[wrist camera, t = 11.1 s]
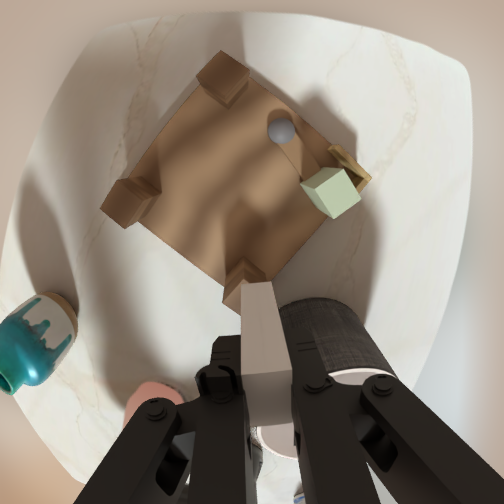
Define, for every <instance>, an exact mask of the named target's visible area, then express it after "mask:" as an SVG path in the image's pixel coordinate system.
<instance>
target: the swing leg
mask: <svg viewBox="0 0 504 504" xmlns="http://www.w3.org/2000/svg"><path fill="white" fill-rule="evenodd" d="M267 132H268V136H269V138H270V139H271V140H272V141H273V142H274V143H277V145H278V146H279V147H280V149H281V150H282V151H283V153H284V154H285V155H286V157H287V158H288V160H289V161H290V162H291V164H292V165H293V167H294V168H295V169H296V171H297V172H298V174H299V175H300V177H301V178H302V180H303V182H301V183H300V185H301V186H302V188H303V189H304V191H305V192H306V193H307V195H308V196H309V198H310V199H311V201H312V202H313V204H314V205H315V207H316V208H317V209H319V210H320V211H322V212H324V213H325V214H327V215H328V216H330V217H331V218H333V219H335V218H336V217H338V216H339V215H340V214H342V213H343V212H345V211H346V210H347V209H349V208H350V207H352V206H353V205H354V204H356V203H357V202H358V201H360V200H361V197H360V195H359V194H358V192H357V190H356V188H355V187H354V185H353V183H352V182H351V180H350V179H349V177H348V175H347V174H346V172H345V170H344V169H340V168H328V167H323V168H320V167H319V165H318V164H317V162H316V161H315V160H314V158H313V157H312V155H311V154H310V152H309V151H308V149H307V148H306V147H305V145H304V144H303V142H302V141H301V140H300V138H299V137H298V135H297V134H296V133H295V128H294V125H293V124H292V122H291V121H289V120H288V119H285V118H277V119H275V120H273V121H272V122H271V123H270V125H269V126H268V130H267Z"/></svg>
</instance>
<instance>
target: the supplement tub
mask: <svg viewBox="0 0 504 504" xmlns="http://www.w3.org/2000/svg"><path fill="white" fill-rule="evenodd" d="M294 504H306V503H305V497H304V493H301V494H298V495H297V496H295V497H294Z"/></svg>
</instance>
